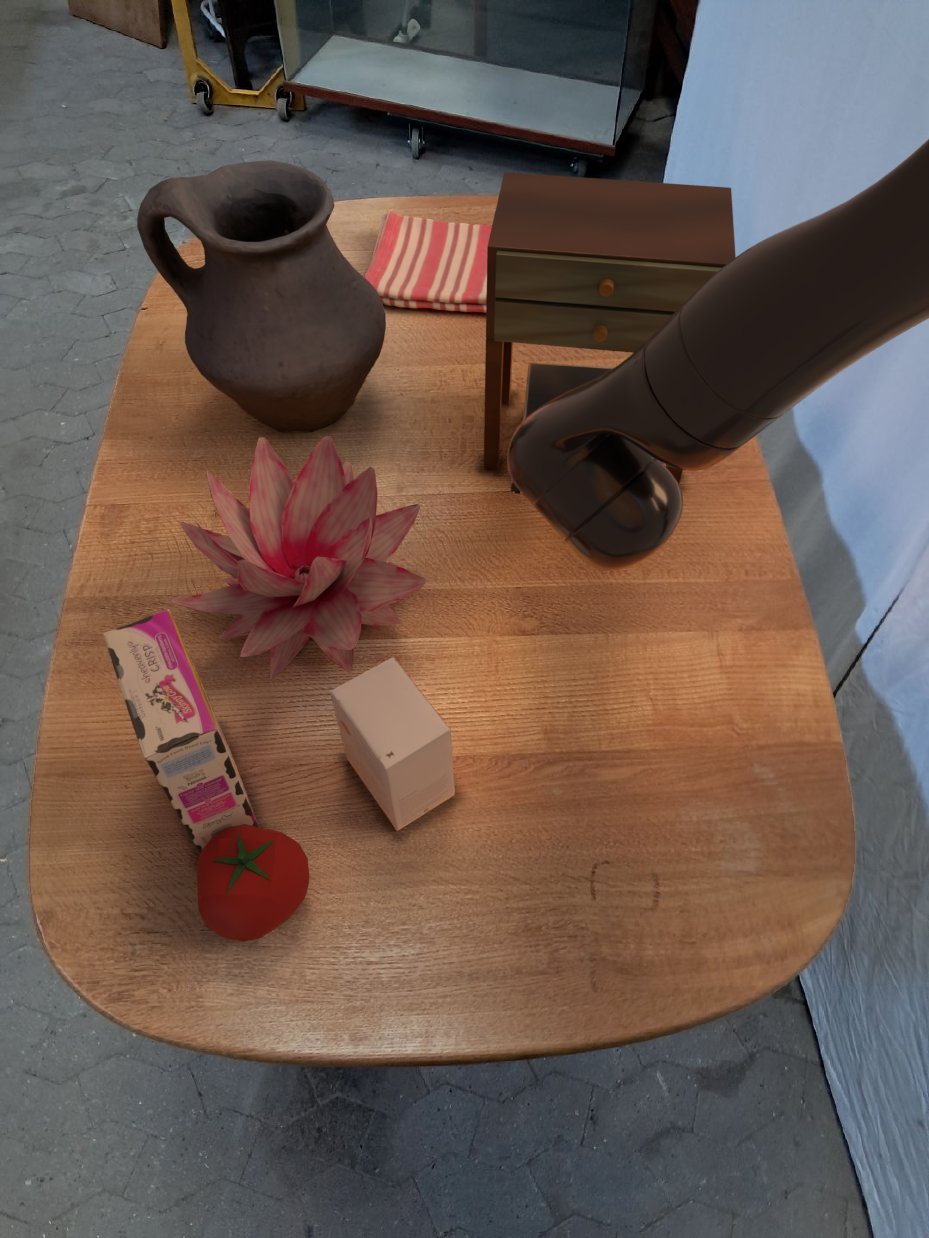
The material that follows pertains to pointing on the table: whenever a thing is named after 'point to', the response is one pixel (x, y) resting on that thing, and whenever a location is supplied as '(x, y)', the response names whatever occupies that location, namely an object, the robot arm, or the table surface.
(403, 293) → the dish towel
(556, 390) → the storage box
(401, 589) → the decorative flower
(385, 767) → the small box
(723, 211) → the drawer unit
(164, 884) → the table surface
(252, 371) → the pitcher
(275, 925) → the tomato
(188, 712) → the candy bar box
